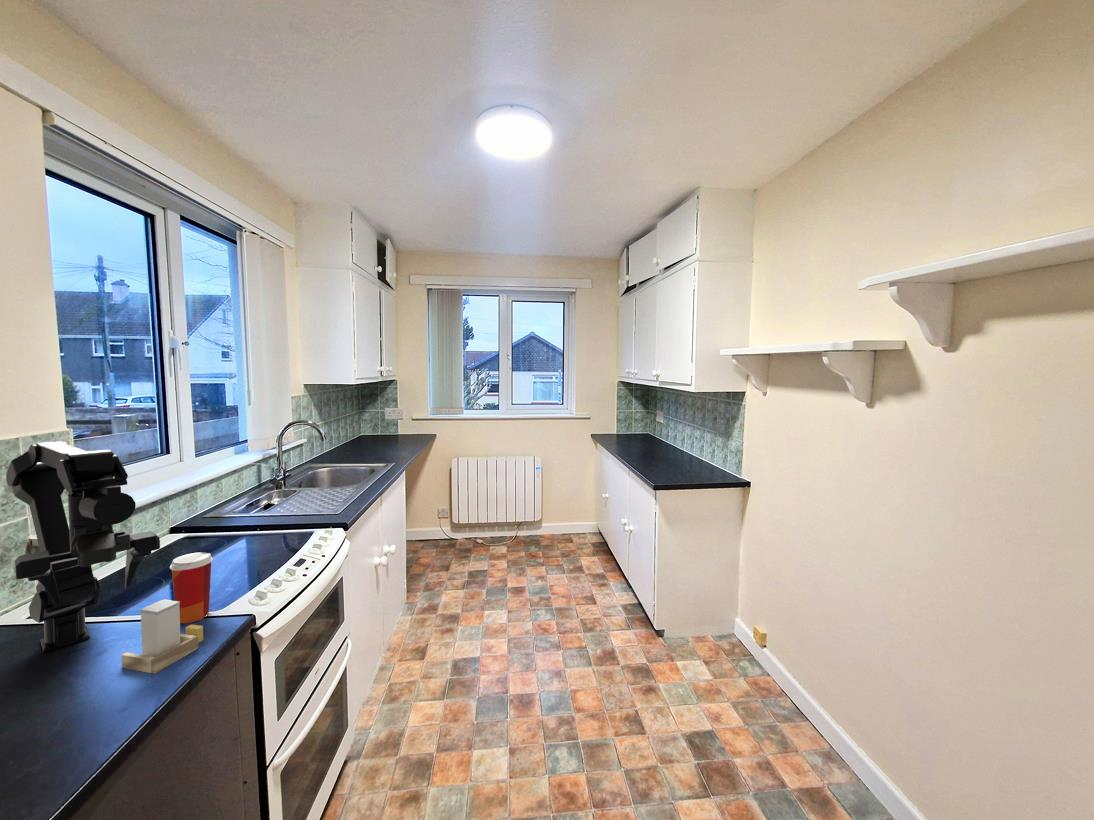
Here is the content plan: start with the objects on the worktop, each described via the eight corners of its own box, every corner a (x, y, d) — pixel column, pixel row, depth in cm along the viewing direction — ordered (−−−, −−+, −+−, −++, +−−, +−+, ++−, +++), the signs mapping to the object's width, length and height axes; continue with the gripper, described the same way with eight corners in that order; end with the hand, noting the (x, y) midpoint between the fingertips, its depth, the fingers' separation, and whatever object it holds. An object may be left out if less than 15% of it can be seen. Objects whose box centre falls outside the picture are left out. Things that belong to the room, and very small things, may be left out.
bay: (121, 667, 81) (121, 654, 81) (167, 643, 89) (167, 631, 89) (154, 673, 80) (154, 660, 80) (198, 648, 88) (197, 636, 88)
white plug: (142, 662, 83) (140, 609, 82) (164, 650, 87) (163, 599, 86) (158, 665, 82) (157, 612, 82) (181, 653, 86) (179, 601, 86)
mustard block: (185, 641, 90) (185, 627, 90) (191, 638, 91) (191, 624, 91) (197, 643, 89) (197, 629, 89) (203, 640, 91) (202, 626, 90)
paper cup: (196, 607, 104) (194, 550, 103) (222, 610, 102) (221, 552, 102) (161, 624, 96) (159, 562, 96) (189, 628, 95) (187, 566, 94)
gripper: (15, 538, 70) (19, 632, 71) (165, 513, 85) (168, 591, 86) (12, 525, 77) (17, 610, 78) (152, 504, 92) (154, 575, 92)
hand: (94, 596), depth 83 cm, fingers open, 9 cm apart
